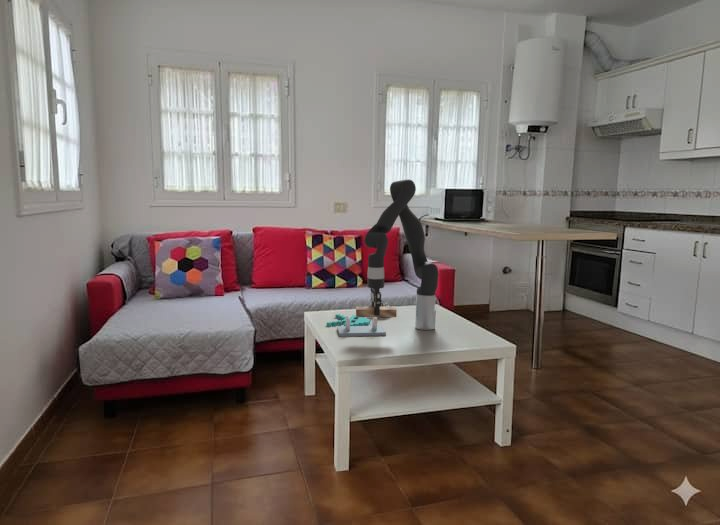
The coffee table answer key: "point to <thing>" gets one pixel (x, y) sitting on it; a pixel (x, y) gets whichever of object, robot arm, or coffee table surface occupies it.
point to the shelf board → (369, 311)
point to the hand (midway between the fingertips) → (375, 313)
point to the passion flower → (383, 303)
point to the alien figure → (353, 321)
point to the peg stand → (361, 329)
